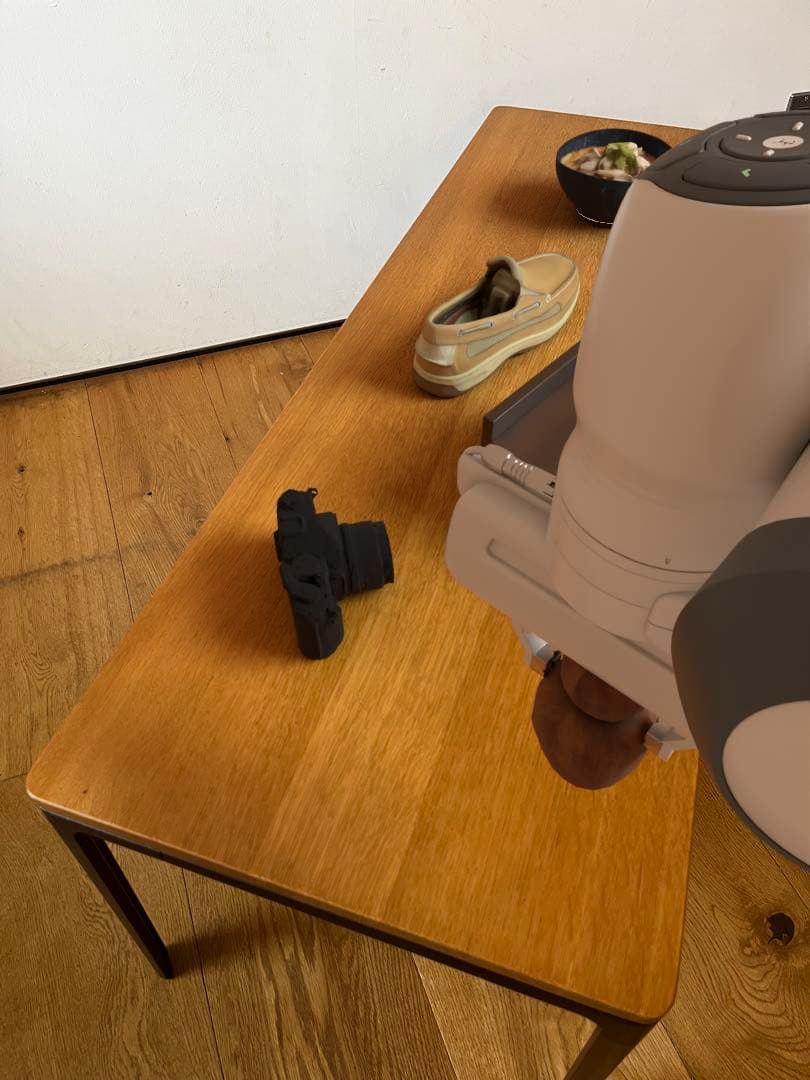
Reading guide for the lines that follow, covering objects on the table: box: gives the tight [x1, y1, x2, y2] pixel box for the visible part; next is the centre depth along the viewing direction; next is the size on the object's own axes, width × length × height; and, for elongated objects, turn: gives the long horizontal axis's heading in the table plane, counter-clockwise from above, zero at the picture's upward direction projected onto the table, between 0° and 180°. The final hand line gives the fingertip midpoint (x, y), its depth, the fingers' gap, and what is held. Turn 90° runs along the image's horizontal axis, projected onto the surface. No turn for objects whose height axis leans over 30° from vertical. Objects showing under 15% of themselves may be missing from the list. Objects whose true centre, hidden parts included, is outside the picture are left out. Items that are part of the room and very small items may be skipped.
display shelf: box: [480, 339, 581, 477], centre depth 75 cm, size 12×18×12 cm, turn 138°
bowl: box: [554, 127, 673, 229], centre depth 113 cm, size 17×17×10 cm
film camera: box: [272, 487, 395, 661], centre depth 68 cm, size 15×10×9 cm, turn 12°
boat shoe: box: [412, 251, 581, 398], centre depth 92 cm, size 10×29×11 cm, turn 144°
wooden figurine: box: [530, 653, 657, 791], centre depth 42 cm, size 7×6×15 cm
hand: (599, 703), depth 43 cm, fingers closed on wooden figurine, 6 cm apart
